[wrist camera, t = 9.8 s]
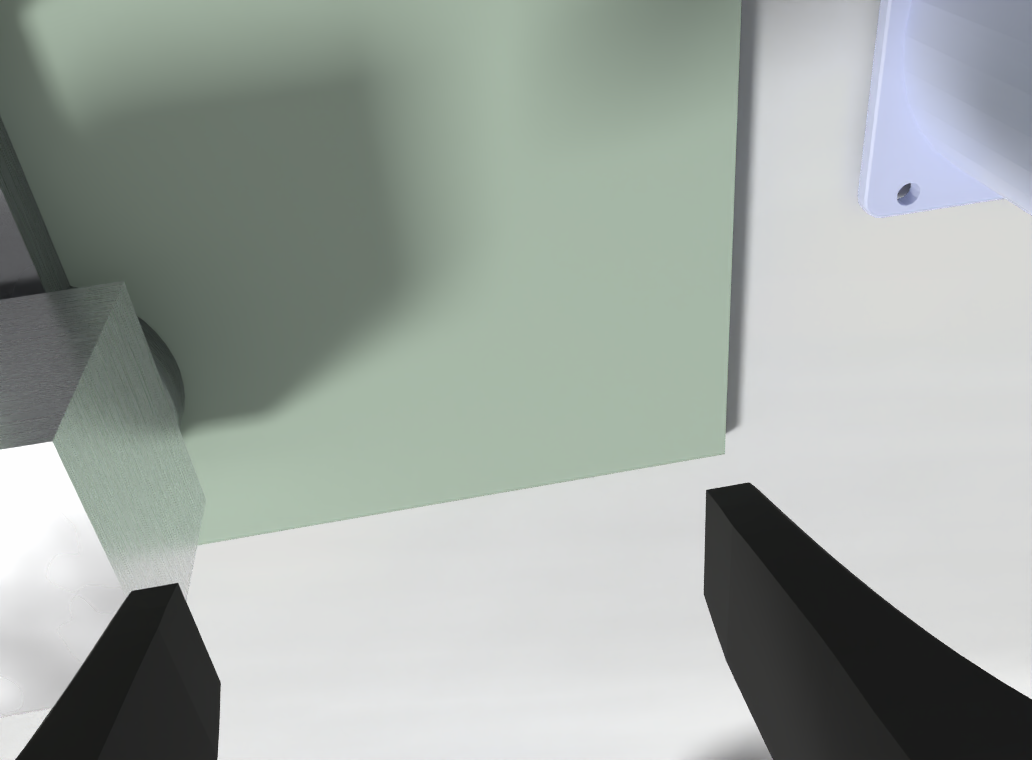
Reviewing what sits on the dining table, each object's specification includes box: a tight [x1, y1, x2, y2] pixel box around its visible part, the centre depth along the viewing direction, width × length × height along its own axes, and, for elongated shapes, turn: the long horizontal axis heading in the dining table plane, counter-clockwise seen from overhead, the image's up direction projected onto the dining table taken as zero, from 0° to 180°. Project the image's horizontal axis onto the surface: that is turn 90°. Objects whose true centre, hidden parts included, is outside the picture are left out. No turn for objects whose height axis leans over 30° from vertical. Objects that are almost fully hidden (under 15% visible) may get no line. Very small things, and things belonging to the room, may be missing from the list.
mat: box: [0, 0, 741, 545], centre depth 17 cm, size 26×22×1 cm
